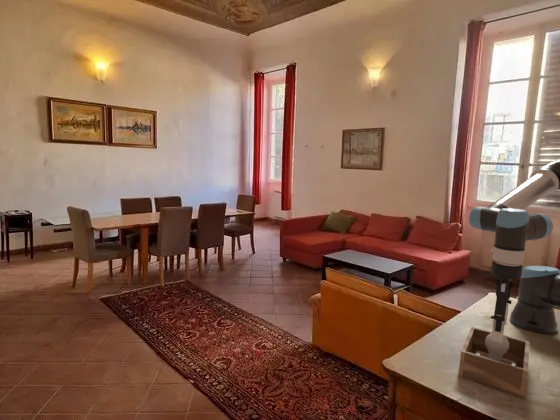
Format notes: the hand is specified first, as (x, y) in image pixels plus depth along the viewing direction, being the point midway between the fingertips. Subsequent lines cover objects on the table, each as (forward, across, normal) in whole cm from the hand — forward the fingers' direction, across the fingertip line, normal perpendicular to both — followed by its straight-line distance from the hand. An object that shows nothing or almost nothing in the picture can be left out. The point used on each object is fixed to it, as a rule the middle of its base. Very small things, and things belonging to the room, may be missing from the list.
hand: (499, 332), depth 108 cm
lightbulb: (+12, 0, 0) cm, 12 cm away
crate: (+12, 0, 0) cm, 12 cm away
